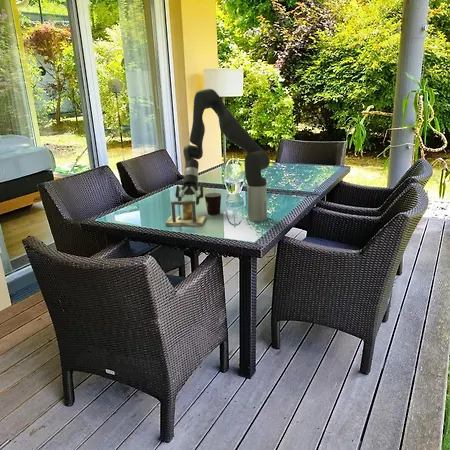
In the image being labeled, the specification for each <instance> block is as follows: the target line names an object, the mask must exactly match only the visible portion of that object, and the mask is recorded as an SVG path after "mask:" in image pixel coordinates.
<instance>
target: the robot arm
mask: <svg viewBox="0 0 450 450" xmlns="http://www.w3.org/2000/svg"><path fill="white" fill-rule="evenodd" d="M192 109H193V112H192V125H191V131H190V135H189V142H190V143H191V144H186V145H185V146H184V147H183V157H184V161H185V165H184V174H183V181H182V183H183V184H182V186H179V185H177V186H176V187H175V188H176V189H175V198H176V199H177V201H182V199H183V198H184V197H186V196H193V195H194V196H195V206H198V205H199V204H200V199H203V198H204V187H203V185H200V186H198V184H199V183H198V182H199V161H198V160H200V159H201V158H202V157H203V156H204V154H203V153H204V152H203V151H204V149H203V141H204V137H205V132H206V128H205V127H206V126H205V124H204V119H203V116H204V111H205V110H206V109H212V110H213V111H214V113H215V114H216V116H217V117H218V123H219V129H220V131H221V133H222V134H223V135H224V136H225V138H226V139H227V140H228V141H229V142H231V143H232V144H234V145H235V146H236V147H239V148H240V149H242V150H243V151H244V152H246V153H247V154H246V155H245V157H244V174H245V175H244V177H245V181H246V183H247V185H246V187H247V192H246V193H247V218H248V221H251V222H263V221H267V219H268V201H267V200H268V198H267V179H266V177H263V176H262V170H266V169H267V168H269V166H270V163H271V162H270V161H271V160H270V157H269V154H268V153H267V152H266V151H265V150H264V149H263V148H262V147H261V146H260V145H259V144H258V142H256V141H255V140H254V139H253V138H252V136H250V134H249V133H248V132H247V131H246V130H245V128H244V127H243V125H242V124H241V123H240V122H239V121H238V120H237V119H236V117H235V116H234V115H233V114H232V113H231V111H230V110H229V108H227V105H225V103H224V102H223V100H222V98H221V97H220V95H219V93H217V91H216V90H215V89H213V88H205V89H200V90H198V91H196V92H195V94H194V97H193V107H192ZM198 191H199V193H198Z"/></svg>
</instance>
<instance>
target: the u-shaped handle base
mask: <svg viewBox="0 0 450 450" xmlns="http://www.w3.org/2000/svg"><path fill="white" fill-rule="evenodd" d="M190 204H192V217H193V220H182V219H181V215H176V205H177V206H182V205H190ZM170 208H171V215H170V216H169V217H168V218H167V220H166V221H165V226H166V227H177V226H178V227H182V226H184V227H185V226H192V227H194V226H195V227H196V226H197V227H199V226H201V227H203V225H204V223H205V221H206V219H207V216H206V215H197V213H196V209H197V208H196V200H192V201H178V200H177V201H176V200H174V201H171V200H170Z"/></svg>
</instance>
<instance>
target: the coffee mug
mask: <svg viewBox="0 0 450 450" xmlns="http://www.w3.org/2000/svg"><path fill="white" fill-rule="evenodd" d="M204 199H205V206H206V211H207V214H208V215H209V216H217V215H220V214H221V206H222V205H221V203H222V194H221V193H220V192H210V193H209V192H208V193H205V194H204Z"/></svg>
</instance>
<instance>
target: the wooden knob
mask: <svg viewBox="0 0 450 450" xmlns="http://www.w3.org/2000/svg"><path fill="white" fill-rule="evenodd" d="M182 201H193V200H191V199H183V200H182ZM181 207H182V209H181V210H182V218H181V220H193V215H192V204H190V205H181Z"/></svg>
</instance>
